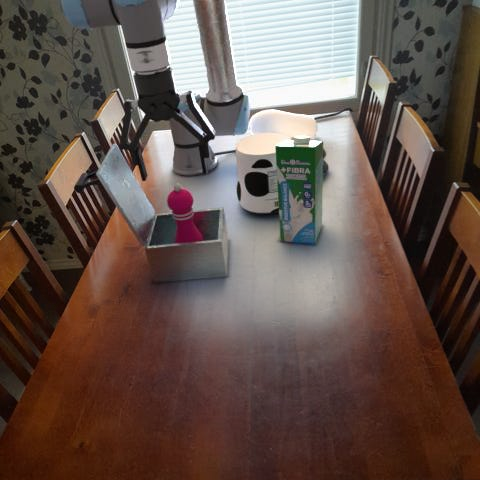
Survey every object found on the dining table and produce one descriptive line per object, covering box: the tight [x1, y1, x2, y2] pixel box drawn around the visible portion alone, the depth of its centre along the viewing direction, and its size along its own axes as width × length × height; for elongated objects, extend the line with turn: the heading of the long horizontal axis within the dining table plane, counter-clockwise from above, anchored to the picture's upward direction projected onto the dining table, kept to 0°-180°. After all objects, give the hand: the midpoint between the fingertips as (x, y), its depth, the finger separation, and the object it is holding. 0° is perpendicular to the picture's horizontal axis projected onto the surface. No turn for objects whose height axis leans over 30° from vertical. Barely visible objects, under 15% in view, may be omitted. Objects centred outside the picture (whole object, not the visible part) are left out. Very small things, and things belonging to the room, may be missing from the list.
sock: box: [248, 109, 319, 141], centre depth 164 cm, size 25×10×14 cm
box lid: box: [73, 142, 156, 248], centre depth 104 cm, size 19×16×10 cm
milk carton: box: [275, 136, 324, 245], centre depth 111 cm, size 9×9×25 cm
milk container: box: [235, 132, 291, 215], centre depth 127 cm, size 17×17×18 cm
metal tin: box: [143, 207, 229, 283], centre depth 112 cm, size 18×16×10 cm
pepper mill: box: [166, 183, 204, 244], centre depth 108 cm, size 7×7×20 cm
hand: (175, 175), depth 100 cm, fingers open, 13 cm apart
